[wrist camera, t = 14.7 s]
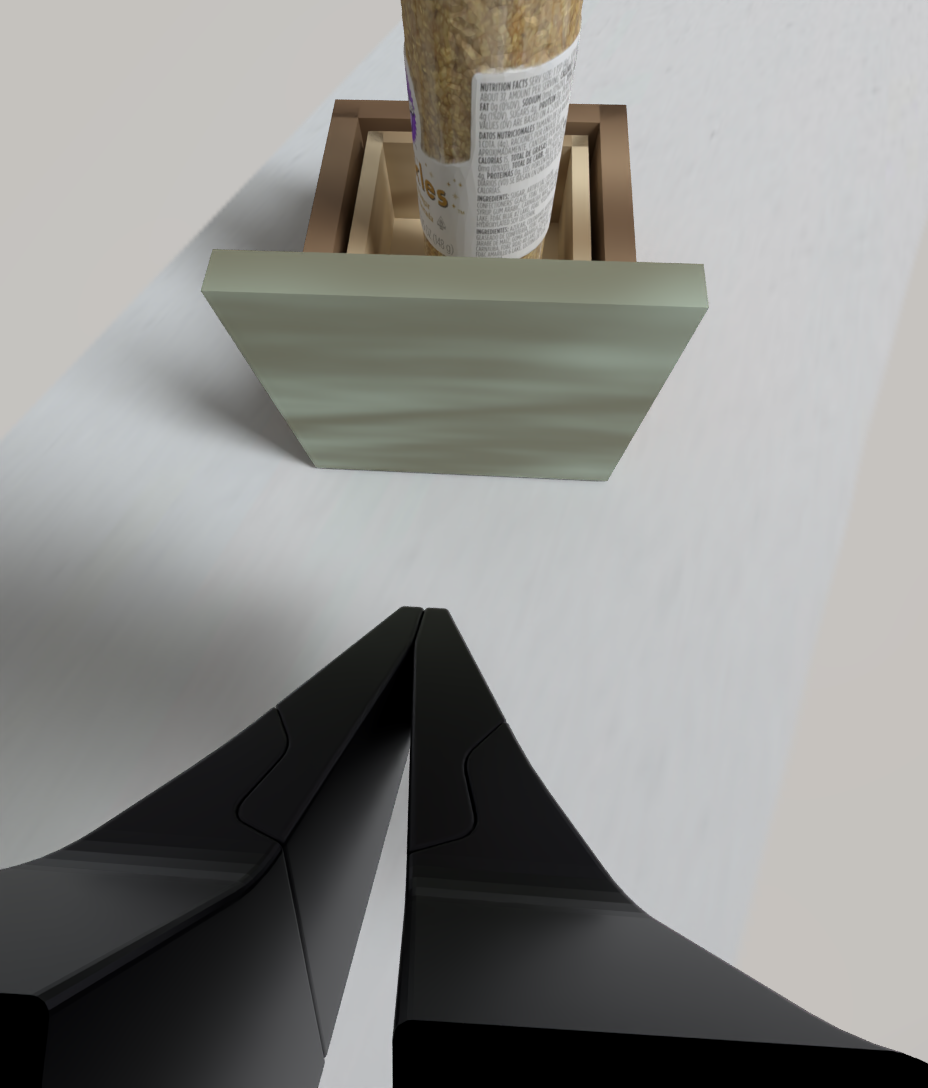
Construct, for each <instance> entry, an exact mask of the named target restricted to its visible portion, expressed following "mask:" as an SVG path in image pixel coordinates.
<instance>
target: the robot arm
mask: <svg viewBox="0 0 928 1088" xmlns="http://www.w3.org/2000/svg"><path fill="white" fill-rule="evenodd" d="M409 748H410V767H409V800H408V834H407V867H406V891H405V909H404V921H403V931H402V942H401V953H400V964H399V975H398V985H397V996H396V1007H395V1018H394V1029H393V1039H392V1046H393V1088H928V1063H926V1062H923V1061H922V1060H919V1059H917V1058H914V1057H911V1056H909V1055H906V1054H904V1053H901V1052H898V1051H895V1050H892V1049H888V1048H886V1047H882V1046H879V1045H876V1044H873V1043H871V1042H869V1041H866V1040H864V1039H862V1038H859V1037H857V1036H855V1035H852V1034H850V1033H848V1032H845V1031H843V1030H841V1029H839V1028H837V1027H835V1026H833V1025H831V1024H829V1023H827V1022H825V1021H824V1020H822V1019H820V1018H818V1017H817V1016H815V1015H813V1014H811V1013H809V1012H807V1011H806V1010H804V1009H803V1008H801V1007H799V1006H798V1005H796V1004H794V1003H793V1002H791V1001H789V1000H788V999H786V998H784V997H783V996H781V995H779V994H778V993H776V992H775V991H773V990H771V989H770V988H768V987H766V986H765V985H763V984H761V983H760V982H758V981H756V980H755V979H753V978H751V977H750V976H748V975H746V974H745V973H743V972H742V971H740V970H738V969H737V968H735V967H733V966H732V965H730V964H728V963H727V962H725V961H723V960H722V959H720V958H718V957H717V956H715V955H713V954H712V953H710V952H709V951H707V950H705V949H704V948H702V947H700V946H699V945H697V944H695V943H694V942H692V941H690V940H689V939H687V938H685V937H684V936H682V935H680V934H679V933H677V932H676V931H674V930H672V929H671V928H669V927H667V926H666V925H664V924H662V923H661V922H659V921H657V920H656V919H654V918H653V917H651V916H650V915H648V914H647V913H646V912H645V911H643V910H642V909H641V908H640V907H639V906H637V905H636V904H635V903H634V902H633V901H632V900H631V899H630V898H629V897H628V896H627V895H626V894H625V893H624V892H623V890H622V889H621V888H620V887H619V886H618V885H617V884H616V883H615V881H614V880H613V879H612V877H611V876H610V875H609V873H608V872H607V871H606V870H605V868H604V867H603V865H602V864H601V863H600V861H599V860H598V859H597V857H596V856H595V854H594V853H593V852H592V850H591V849H590V847H589V846H588V845H587V843H586V842H585V841H584V839H583V838H582V836H581V835H580V834H579V832H578V831H577V830H576V828H575V827H574V825H573V824H572V823H571V821H570V820H569V818H568V817H567V816H566V814H565V813H564V812H563V810H562V809H561V807H560V806H559V805H558V803H557V802H556V800H555V799H554V798H553V796H552V795H551V794H550V792H549V791H548V789H547V788H546V786H545V785H544V783H543V782H542V780H541V779H540V777H539V776H538V774H537V773H536V772H535V770H534V769H533V767H532V766H531V764H530V762H529V760H528V759H527V757H526V755H525V754H524V752H523V750H522V748H521V747H520V745H519V743H518V741H517V740H516V738H515V736H514V734H513V732H512V730H511V728H510V726H509V724H508V723H506V719H505V717H504V715H503V713H502V712H501V710H500V708H499V706H498V704H497V702H496V700H495V698H494V696H493V694H492V693H491V691H490V689H489V687H488V685H487V683H486V681H485V679H484V677H483V675H482V674H481V672H480V670H479V668H478V666H477V664H476V662H475V660H474V658H473V656H472V654H471V653H470V651H469V649H468V647H467V645H466V643H465V641H464V639H463V637H462V635H461V634H460V632H459V630H458V628H457V626H456V624H455V622H454V620H453V618H452V616H451V615H450V613H449V611H448V610H447V609H444V608H426V609H425V611H424V609H423V608H421V607H408V606H403V607H401V608H399V609H398V610H397V611H395V612H394V613H393V614H391V615H390V616H389V617H388V618H386V619H385V620H384V621H383V622H381V623H380V624H379V625H377V626H376V627H375V628H374V629H372V630H371V631H370V632H369V633H367V634H366V635H365V636H363V637H362V638H361V639H360V640H358V641H357V642H356V643H355V644H353V645H352V646H351V647H349V648H348V649H347V650H346V651H344V652H343V653H342V654H341V655H339V656H338V657H337V658H335V659H334V660H333V661H332V662H330V663H329V664H328V665H327V666H325V667H324V668H323V669H321V670H320V671H319V672H318V673H316V674H315V675H314V676H313V677H311V678H310V679H309V680H307V681H306V682H305V683H304V684H302V685H301V686H300V687H299V688H297V689H296V690H295V691H293V692H292V693H291V694H290V695H288V696H287V697H286V698H285V699H283V700H282V701H281V702H279V703H278V704H277V705H276V708H272V709H270V710H269V711H268V712H266V713H265V714H264V715H263V716H261V717H260V718H259V719H258V720H256V721H255V722H254V723H252V724H251V725H250V726H248V727H247V728H246V729H244V730H243V731H242V732H240V733H239V734H238V735H236V736H235V737H234V738H232V739H231V740H230V741H228V742H227V743H226V744H224V745H223V746H221V747H220V748H218V749H217V750H215V751H214V752H212V753H211V754H209V755H208V756H206V757H205V758H204V759H202V760H201V761H199V762H198V763H196V764H195V765H193V766H192V767H190V768H189V769H187V770H186V771H184V772H183V773H181V774H180V775H178V776H177V777H175V778H174V779H172V780H171V781H169V782H167V783H166V784H164V785H163V786H161V787H160V788H158V789H157V790H155V791H154V792H152V793H151V794H149V795H148V796H146V797H145V798H143V799H142V800H140V801H138V802H137V803H135V804H134V805H132V806H131V807H129V808H128V809H126V810H125V811H123V812H122V813H120V814H119V815H117V816H116V817H114V818H113V819H111V820H109V821H108V822H106V823H105V824H103V825H102V826H100V827H99V828H97V829H96V830H94V831H92V832H91V833H89V834H87V835H86V836H84V837H83V838H81V839H79V840H77V841H76V842H74V843H72V844H70V845H68V846H66V847H64V848H62V849H60V850H58V851H56V852H53V853H51V854H49V855H46V856H44V857H42V858H39V859H36V860H33V861H30V862H27V863H24V864H21V865H17V866H13V867H9V868H5V869H1V870H0V1088H318V1086H319V1082H320V1078H321V1075H322V1071H323V1067H324V1063H325V1060H324V1057H326V1055H327V1052H328V1048H329V1044H330V1041H331V1037H332V1033H333V1030H334V1026H335V1022H336V1019H337V1015H338V1011H339V1007H340V1004H341V1000H342V996H343V993H344V989H345V985H346V982H347V978H348V974H349V970H350V967H351V963H352V959H353V956H354V952H355V948H356V944H357V941H358V937H359V933H360V930H361V926H362V922H363V919H364V915H365V911H366V907H367V904H368V900H369V896H370V893H371V889H372V885H373V882H374V878H375V874H376V870H377V867H378V863H379V859H380V856H381V852H382V848H383V845H384V841H385V837H386V833H387V830H388V826H389V822H390V819H391V815H392V811H393V808H394V804H395V800H396V796H397V793H398V789H399V785H400V782H401V778H402V774H403V771H404V767H405V763H406V759H407V756H408V752H409Z"/></svg>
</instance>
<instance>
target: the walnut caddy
mask: <svg viewBox="0 0 928 1088" xmlns="http://www.w3.org/2000/svg"><path fill="white" fill-rule="evenodd" d="M368 131H395V132H412V127H411V118H410V108H409V101H387V100H335V104H334V109H333V113H332V118H331V123H330V127H329V132H328V137H327V141H326V146H325V151H324V155H323V160H322V165H321V169H320V174H319V179H318V183H317V188H316V193H315V197H314V202H313V207H312V211H311V216H310V221H309V225H308V230H307V235H306V239H305V244H304V249H303V252H319V253H347V249H348V243H349V238H350V232H351V226H352V221H353V215H354V209H355V204H356V198H357V193H358V187H359V181H360V176H361V170H362V164H363V159H364V153H365V147H366V142H367V136H368ZM564 135H587V136H588V153H589V190H590V226H591V261H618V262H636V249H635V233H634V218H633V202H632V187H631V172H630V156H629V141H628V125H627V110H626V105H603V104H569V108H568V114H567V121H566V127H565V133H564Z"/></svg>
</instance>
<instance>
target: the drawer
mask: <svg viewBox="0 0 928 1088" xmlns="http://www.w3.org/2000/svg"><path fill="white" fill-rule="evenodd" d="M201 292H202V293H203V295H204V296H205V298H206V300H207V301H208V303H209V304H210V306H211V307H212V309H213V310H214V312H215V313H216V315H217V316H218V318H219V319H220V321H221V323H222V324H223V326H224V327H225V329H226V330H227V332H228V333H229V335H230V336H231V338H232V339H233V341H234V342H235V344H236V346H237V347H238V349H239V350H240V352H241V353H242V355H243V356H244V358H245V359H246V361H247V362H248V364H249V365H250V367H251V369H252V370H253V372H254V373H255V375H256V376H257V378H258V379H259V381H260V382H261V384H262V385H263V387H264V388H265V390H266V392H267V393H268V395H269V396H270V398H271V399H272V401H273V402H274V404H275V405H276V407H277V408H278V410H279V411H280V413H281V415H282V416H283V418H284V419H285V421H286V422H287V424H288V425H289V427H290V428H291V430H292V431H293V433H294V434H295V436H296V438H297V439H298V441H299V442H300V444H301V445H302V447H303V448H304V450H305V451H306V453H307V454H308V456H309V457H310V459H311V461H312V462H313V464H314V465H315V467H316V468H335V469H357V470H379V471H400V472H422V473H444V474H465V475H487V476H508V477H530V478H552V479H573V480H595V481H608V479H609V477H610V475H611V474H612V472H613V470H614V469H615V467H616V465H617V463H618V462H619V460H620V458H621V457H622V455H623V453H624V451H625V450H626V448H627V446H628V445H629V443H630V441H631V440H632V438H633V436H634V434H635V433H636V431H637V429H638V428H639V426H640V424H641V422H642V421H643V419H644V417H645V416H646V414H647V412H648V410H649V409H650V407H651V405H652V404H653V402H654V400H655V398H656V397H657V395H658V393H659V392H660V390H661V388H662V387H663V385H664V383H665V381H666V380H667V378H668V376H669V375H670V373H671V371H672V369H673V368H674V366H675V364H676V363H677V361H678V359H679V357H680V356H681V354H682V352H683V351H684V349H685V347H686V346H687V344H688V342H689V340H690V339H691V337H692V335H693V334H694V332H695V330H696V328H697V327H698V325H699V323H700V322H701V320H702V318H703V316H704V315H705V313H706V311H707V310H708V308H709V306H708V298H707V289H706V281H705V273H704V264H685V263H652V262H618V261H591V226H590V190H589V153H588V136H587V135H564V139H563V145H562V151H561V157H560V163H559V169H558V176H557V182H556V188H555V194H554V199H553V205H552V211H551V218H550V223H549V228H548V231H547V233H546V235H545V239H544V246H543V252H542V259H518V258H485V257H452V256H426V254H425V244H424V233H423V229H422V225H421V221H420V213H419V203H418V193H417V182H416V170H415V159H414V150H413V139H412V132H395V131H368V136H367V142H366V147H365V153H364V159H363V164H362V170H361V176H360V181H359V187H358V193H357V198H356V204H355V209H354V215H353V221H352V226H351V232H350V238H349V243H348V249H347V253H319V252H285V251H252V250H219V249H213V250H212V254H211V257H210V261H209V264H208V268H207V271H206V274H205V278H204V281H203V285H202V288H201Z"/></svg>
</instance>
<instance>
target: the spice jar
mask: <svg viewBox="0 0 928 1088" xmlns="http://www.w3.org/2000/svg"><path fill="white" fill-rule="evenodd" d="M582 3H583V0H401V6H402V19H403V27H404V37H405V42H404V61H405V70H406V80H407V90H408V99H409V108H410V118H411V127H412V139H413V150H414V159H415V170H416V182H417V193H418V203H419V213H420V221H421V225H422V229H423V233H424V244H425V254H426V256H452V257H485V258H518V259H542V252H543V246H544V239H545V235H546V233H547V231H548V228H549V223H550V218H551V211H552V205H553V199H554V194H555V188H556V182H557V176H558V169H559V163H560V157H561V151H562V145H563V139H564V133H565V127H566V121H567V114H568V108H569V102H570V95H571V89H572V83H573V76H574V70H575V64H576V57H577V51H578V45H579V39H580V33H581V20H582V17H581V9H582Z"/></svg>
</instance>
